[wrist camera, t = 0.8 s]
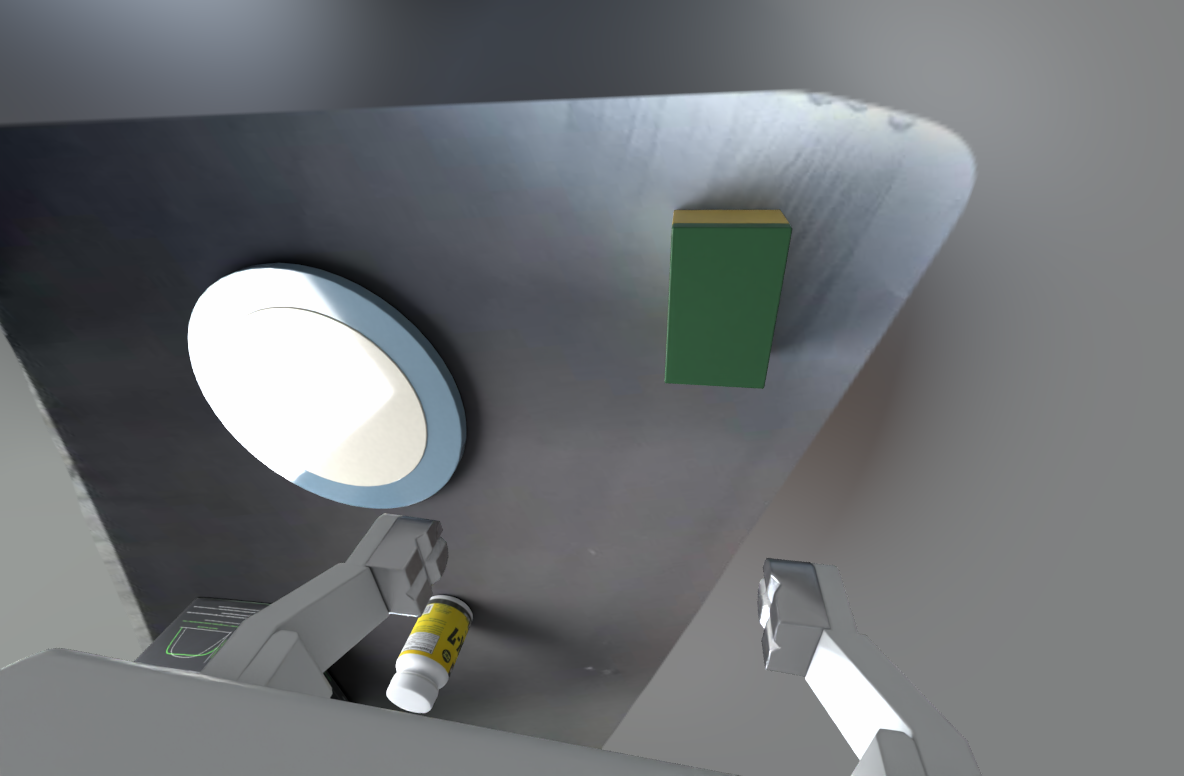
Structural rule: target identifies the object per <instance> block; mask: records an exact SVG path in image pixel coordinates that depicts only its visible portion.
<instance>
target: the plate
mask: <svg viewBox="0 0 1184 776" xmlns="http://www.w3.org/2000/svg"><path fill="white" fill-rule="evenodd" d="M188 347H189V355H190V359H191V364H192V368H193V371H194V373H195V376H196V379H197V382H198V384H199V386H200V388H201V390H202V392H203V394H204V396H205V398H206V400H207V401H208V403H209V404H210V406H211V408H212V409H213V411H214V412H215V414H216V415H217V416H218V418H219V419H220V420H221V422H222V423H223V424H224V426H225V427H226V428H227V429H228V430H229V431H230V433H231V434H232V435H233V436H234V437H235V438H236V439H237V440H238V441H239V442H240V443H241V444H242V445H243V446H244V447H245V448H246V449H247V450H248V451H249V452H250V453H252V454H253V455H254V456H255V457H256V458H258V459H259V460H260V461H261V462H262V463H264V464H265V465H266V466H268V467H269V468H271V469H272V470H273V471H275V472H276V473H278V474H279V475H281V476H283V477H284V478H286V479H287V480H289V481H291V482H292V483H294V484H296V485H298V486H300V487H302V488H304V489H306V490H308V491H310V492H313V493H315V494H317V495H320V496H322V497H325V498H328V499H331V500H334V501H337V502H340V503H344V504H348V505H353V506H359V507H365V508H379V509H383V508H397V507H403V506H408V505H412V504H415V503H418V502H421V501H423V500H425V499H427V498H429V497H431V496H432V495H433V494H435V493H436V492H438V491H439V490H440V489H441V488H442V487H443V486H444V485H445V484H446V483H447V482H448V481H449V479H450V478H451V476H452V475H453V473H454V471H455V470H456V468H457V467H458V465H459V463H460V460H461V458H462V455H463V453H464V448H465V443H466V418H465V411H464V407H463V403H462V400H461V396H460V393H459V391H458V388H457V386H456V384H455V381H454V379H453V377H452V375H451V373H450V372H449V370H448V368H447V366H446V365H445V363H444V361H443V360H442V358H441V357H440V355H439V354H438V353H437V351H436V350H435V349H434V347H433V346H432V345H431V343H430V342H429V341H428V340H427V339H426V338H425V336H424V335H423V334H422V333H421V332H420V331H419V330H418V329H417V328H416V326H414V325H413V324H412V323H411V322H410V321H409V320H408V319H407V318H406V317H405V316H403V315H402V314H401V313H400V312H399V311H398V310H396V309H395V308H394V307H392V306H391V305H390V304H388V303H387V302H386V301H384V300H383V299H382V298H380V297H379V296H377V295H375V294H374V293H372V292H370V291H369V290H367V289H365V288H364V287H362V286H360V285H358V284H356V283H354V282H352V281H350V280H347V279H345V278H343V277H341V276H338V275H336V274H333V273H330V272H327V271H324V270H321V269H317V268H313V267H308V266H304V265H299V264H288V263H267V264H258V265H254V266H249V267H245V268H243V269H240V270H238V271H235V272H233V273H231V274H229V275H226V276H224V277H222V278H220V279H219V280H217V281H216V282H215V283H213V284H212V285H210V286H209V287H208V288H207V289H206V291H205V292H204V293H203V294H202V295H201V296H200V297H199V299H198V301H197V303H196V305H195V307H194V309H193V311H192V315H191V318H190V321H189V329H188Z"/></svg>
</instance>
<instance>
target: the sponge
mask: <svg viewBox="0 0 1184 776" xmlns="http://www.w3.org/2000/svg"><path fill="white" fill-rule="evenodd" d="M791 233H792V227H791V226H790V224H789V222H788V221H787V219H786V218H785V216H784V215H783V213H782V212H781V210H675V211H674V216H673V224H672V236H671V257H670V278H669V300H668V321H667V342H666V363H665V383H673V384H691V385H708V386H726V387H744V388H762V389H763V388H764V386H765V380H766V375H767V369H768V363H769V358H770V352H771V346H772V341H773V335H774V329H775V324H776V318H777V312H778V307H779V301H780V296H781V290H782V284H783V279H784V273H785V267H786V262H787V256H788V250H789V245H790V239H791Z"/></svg>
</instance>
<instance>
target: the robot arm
mask: <svg viewBox="0 0 1184 776" xmlns="http://www.w3.org/2000/svg"><path fill="white" fill-rule="evenodd" d="M442 531H443V529H442V526H441V523H440V521H436V520H429V519H422V518H415V517H408V516H401V515H393V514H385V513H384V514H383V515H381V516H380V517H378V518H377V520H376V521H375V522H374V524H373V525H372V527H371V528H370V529H369V531H368V532H367V533H366V535H365V536H364V538H363V539H362V540H361V542H360V543H359V544H358V546H357V547H356V549H355V550H354V551H353V553H352V554H351V555H350V557H349V558H348V560H347V561H346V562H345V564H344V563H339V564H337V565H335V566H334V567H332V568H330V569H329V570H327V571H325V572H324V573H322V574H320V575H319V576H317V577H315V578H314V579H312V580H310V581H309V582H307V583H306V584H304V585H302V586H301V587H299V588H297V589H296V590H294V591H292V592H291V593H289V594H287V595H286V596H284V597H282V598H281V599H279V600H277V601H276V602H274V603H272V604H271V605H269V606H267V607H266V608H264V609H263V610H261V611H259V612H258V613H256V614H254V615H253V616H251V617H249V618H248V619H246V620H244V621H243V622H242V623H241V624H240V626H239V627H238V628H237V629H236V630H235V632H234V633H233V634H232V635H231V636H230V638H229V639H228V640H227V641H226V642H225V644H224V645H223V646H222V647H221V648H220V649H219V651H218V652H217V653H216V654H215V655H214V657H213V658H212V659H211V660H210V661H209V663H208V664H207V665H206V666H205V667H204V669H203V670H202V671H201V672H200V673H199V674H197V673H192V672H186V671H181V670H176V669H170V668H165V667H160V666H155V665H149V664H144V663H139V662H133V661H128V660H123V659H118V658H111V657H107V656H102V655H96V654H91V653H86V652H81V651H76V650H71V649H63V648H54V649H48V650H44V651H40V652H38V653H35V654H33V655H31V656H28V657H26V658H24V659H21V660H19V661H17V662H15V663H12V664H10V665H8V666H6V667H4V668H2V669H0V776H739V775H734V774H729V773H723V772H718V771H713V770H708V769H702V768H697V767H692V766H686V765H681V764H676V763H670V762H665V761H660V760H654V759H649V758H644V757H639V756H633V755H628V754H623V753H617V752H612V751H607V750H602V749H596V748H591V747H586V746H580V745H575V744H570V743H564V742H559V741H554V740H548V739H543V738H538V737H533V736H527V735H522V734H517V733H511V732H506V731H501V730H495V729H490V728H485V727H479V726H474V725H469V724H463V723H458V722H453V721H447V720H442V719H437V718H431V717H426V716H421V715H416V714H410V713H405V712H400V711H394V710H389V709H384V708H378V707H373V706H368V705H362V704H357V703H352V702H346V701H341V700H336V699H330V697H331V695H332V694H333V693H332V687H331V686H330V684H329V682H328V681H327V679H326V678H325V676H324V674H323V672H324V671H326V670H327V669H328V668H329V667H330V666H331V665H333V664H334V663H335V662H336V661H337V660H338V659H340V658H341V657H342V656H343V655H344V654H345V653H346V652H348V651H349V650H350V649H351V648H352V647H353V646H355V645H356V644H357V643H358V642H359V641H360V640H362V639H363V638H364V637H365V636H366V635H367V634H369V633H370V632H371V631H372V630H373V629H374V628H376V627H377V626H378V625H379V624H380V623H381V622H383V621H384V620H385V619H386V618H387V617H388V616H389V613H390V614H398V615H406V616H414V617H421V616H422V614H423V612H424V610H425V608H426V606H427V604H428V602H429V600H430V598H431V596H432V594H433V592H432V587H431V585H432V584H434V583H435V582H436V581H438V580H439V579H441V577H442V575H443V573H444V570H445V568H446V564H447V560H448V546H447V543H446V541H445V540H444V539H443V538H442V537H440V535H441V533H442ZM763 572H764V578H763V579H762V580H760V583H759V589H758V601H757V602H758V616H759V622H760V623H761V625H762V626H763V627H764V633H763V637H762V647H763V655H764V663H765V669H766V670H770V671H776V672H781V673H787V674H793V675H799V676H804V677H805V679H806V681H807V682H808V684H809V685H810V687H811V688H812V690H813V691H814V693H815V694H816V696H817V697H818V699H819V700H820V702H821V703H822V705H823V706H824V708H825V709H826V711H827V712H828V713H829V715H830V717H831V718H832V719H833V721H834V722H835V724H836V725H837V727H838V728H839V730H840V731H841V733H842V734H843V736H844V737H845V739H846V740H847V742H848V743H849V745H850V746H851V748H852V749H853V751H854V752H855V753H856V755H857V757H858V758H859V760H860V761H859V763H858V765H857V766H856V768H855V770H854V772H853V773H852V775H851V776H982V774H981V772H980V769H979V767H978V765H977V762H976V760H975V758H974V755H973V753H972V750H971V748H970V746H969V743H968V741H967V740H966V739H965V738H964V737H963V736H962V735H961V734H960V733H959V732H958V730H956V728H955V727H954V726H953V725H952V724H951V723H950V722H949V721H948V720H947V719H946V718H945V717H944V716H943V715H942V714H941V713H940V712H939V711H938V710H937V709H936V707H935V706H934V705H933V704H932V703H931V702H930V701H929V700H928V699H927V698H926V697H925V696H924V695H923V694H922V693H921V692H920V691H919V690H918V689H917V688H916V687H915V685H914V684H913V683H911V681H910V680H909V679H908V678H907V677H906V676H905V675H904V674H903V673H902V672H901V671H900V670H899V669H898V668H897V667H896V666H895V665H894V664H893V663H892V661H891V660H890V659H889V658H888V657H887V656H886V655H885V654H884V653H883V652H882V651H881V650H880V649H879V648H878V647H877V646H876V645H875V644H874V643H873V642H872V640H871V639H869V637H868V636H867V635H865V634H859V633H858V630H857V627H856V623H855V620H854V617H853V614H852V611H851V608H850V604H849V601H848V597H847V594H846V591H845V588H844V585H843V581H842V578H841V575H840V572H839V569H838V568H837V567H836V566H832V565H824V564H815V563H810V562H801V561H791V560H781V559H772V558H767V559H766V560H765V562H764V566H763Z"/></svg>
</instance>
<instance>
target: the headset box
mask: <svg viewBox="0 0 1184 776" xmlns="http://www.w3.org/2000/svg"><path fill="white" fill-rule="evenodd" d="M269 605H271V604H267V603H257V602H245V601H235V600H223V599H213V598H196V599H195V600H194V601H193V602H192V603H191V604H190V605H189V606H188V607H187V608H186V609H185V610H184V611H183V612H182V613H181V614H180V615H179V616H178V617H177V618H176V619H175V620H174V621H173V622H172V623H171V624H170V625H169V626H168V627H167V628H166V629H165V630H164V632H163V633H162V634H161V635H160V636H159V637H158V638H157V639H156V640H155V641H154V642H153V643H152V644H151V645H150V646H149V647H148V648H147V649H146V650H145V651H144V652H143V653H142V654H141V655H140V656H139V657H138V658H137V659H136V660H135V661H134V662H139V663H144V664H149V665H155V666H160V667H165V668H170V669H176V670H181V671H186V672H192V673H197V674H199V673H200V672H201V671H202V670H203V669H204V667H205V666H206V665H207V664H208V663H209V661H210V660H211V659H212V658H213V657H214V655H215V654H216V653H217V652H218V651H219V649H220V648H221V647H222V646H223V645H224V644H225V642H226V641H227V640H228V639H229V638H230V636H231V635H232V634H233V633H234V632H235V630H236V629H237V628H238V627H239V626H240V624H241V623H242V622H243V621H244V620H246V619H248V618H249V617H251V616H253V615H254V614H256V613H258V612H259V611H261V610H263V609H264V608H266V607H267V606H269ZM323 674H324V676H325V678H326V679H327V681H328V682H329V684H330V686H331V687H332V693H333V694H332V695H331V697H330V699H336V700H341V701H346V702H349V701H348V699H347V698H346V697H345V695H344V694H343V692H342V691H341V690H340V688H339V687H338V685H337V684H336V683H335V681H334V680H333V678H332V677H331V676H330V674H329V673H328V671H327V670H326V671H324V672H323Z"/></svg>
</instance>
